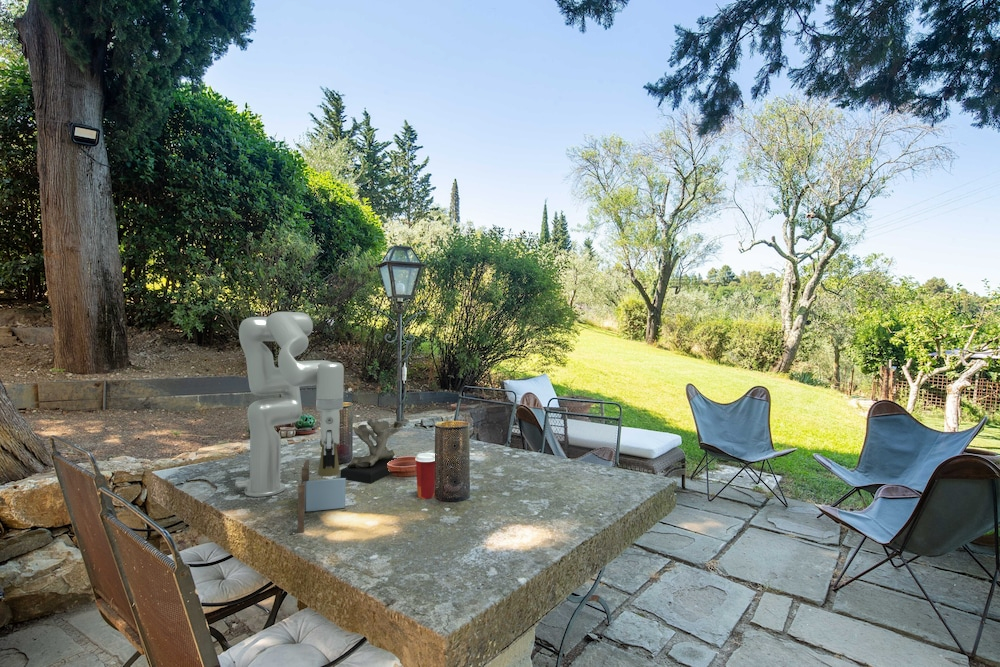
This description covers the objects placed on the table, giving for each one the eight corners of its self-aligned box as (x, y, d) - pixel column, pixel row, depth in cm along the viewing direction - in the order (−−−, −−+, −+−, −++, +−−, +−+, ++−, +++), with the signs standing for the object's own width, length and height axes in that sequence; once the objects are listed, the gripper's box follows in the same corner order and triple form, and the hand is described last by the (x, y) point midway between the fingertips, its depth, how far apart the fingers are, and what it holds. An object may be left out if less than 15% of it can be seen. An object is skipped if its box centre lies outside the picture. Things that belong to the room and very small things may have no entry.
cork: (321, 470, 144) (321, 433, 144) (341, 470, 144) (342, 433, 144) (315, 476, 138) (315, 438, 138) (336, 476, 138) (337, 438, 138)
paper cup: (441, 494, 164) (442, 453, 164) (429, 501, 157) (429, 459, 157) (422, 490, 167) (423, 451, 167) (409, 497, 160) (410, 456, 160)
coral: (379, 462, 202) (380, 411, 202) (421, 468, 194) (421, 415, 194) (338, 478, 179) (339, 421, 179) (383, 486, 171) (384, 426, 171)
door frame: (296, 533, 131) (297, 486, 131) (303, 499, 157) (304, 459, 157) (304, 532, 132) (305, 485, 132) (310, 498, 158) (310, 459, 158)
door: (345, 507, 149) (345, 479, 149) (302, 511, 145) (302, 482, 145) (345, 506, 151) (345, 477, 150) (302, 510, 146) (302, 481, 146)
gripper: (343, 408, 134) (342, 473, 134) (342, 399, 150) (342, 458, 150) (314, 409, 132) (314, 475, 132) (317, 400, 148) (316, 459, 148)
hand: (328, 465), depth 141 cm, fingers closed on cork, 3 cm apart
